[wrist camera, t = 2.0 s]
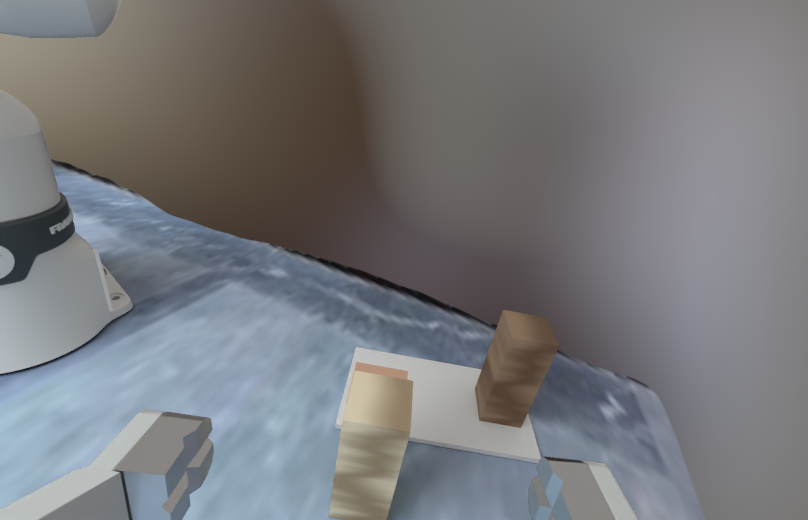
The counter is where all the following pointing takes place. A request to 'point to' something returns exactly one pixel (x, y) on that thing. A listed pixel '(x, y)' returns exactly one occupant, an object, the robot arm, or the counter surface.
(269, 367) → the counter surface
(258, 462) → the counter surface
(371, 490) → the birch pillar
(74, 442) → the counter surface
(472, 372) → the white mat
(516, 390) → the walnut pillar
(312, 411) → the counter surface
